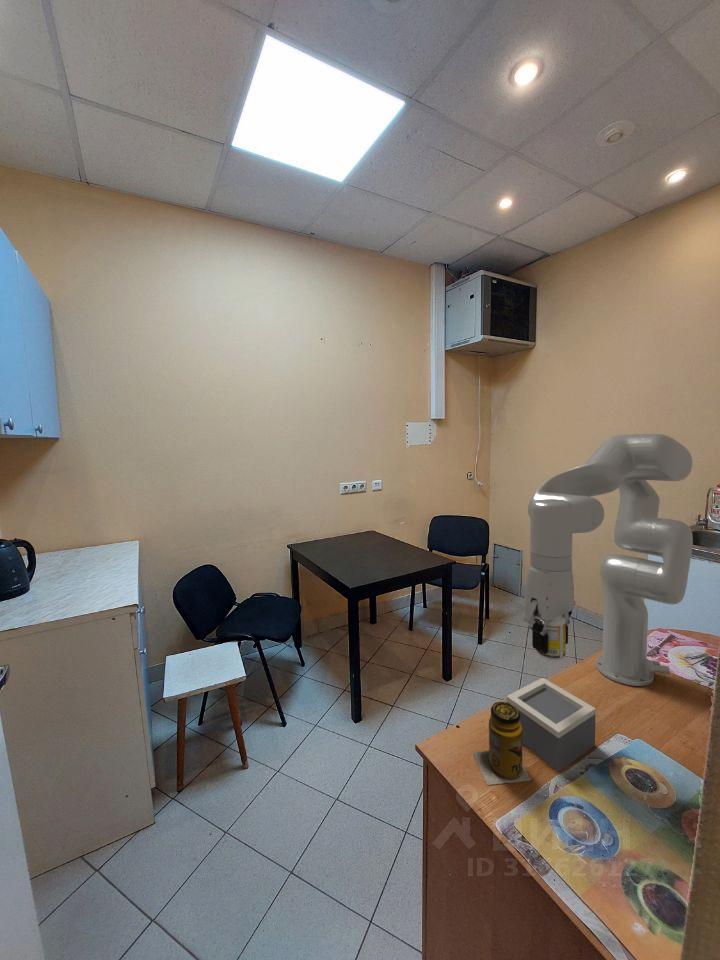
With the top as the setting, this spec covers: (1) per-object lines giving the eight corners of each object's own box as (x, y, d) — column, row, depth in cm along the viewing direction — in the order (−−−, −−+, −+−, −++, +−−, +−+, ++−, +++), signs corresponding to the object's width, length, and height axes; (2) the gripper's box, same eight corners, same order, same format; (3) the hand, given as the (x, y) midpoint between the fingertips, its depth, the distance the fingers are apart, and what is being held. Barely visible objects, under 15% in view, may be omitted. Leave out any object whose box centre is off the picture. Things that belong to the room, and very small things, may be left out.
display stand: (542, 710, 88) (542, 677, 88) (594, 745, 78) (595, 708, 77) (506, 731, 83) (506, 696, 82) (558, 772, 72) (558, 732, 71)
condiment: (531, 780, 71) (531, 721, 69) (487, 785, 70) (486, 726, 69) (512, 749, 78) (512, 695, 77) (472, 753, 77) (471, 699, 76)
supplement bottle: (551, 644, 82) (552, 599, 81) (572, 658, 76) (572, 610, 75) (529, 649, 80) (529, 603, 79) (548, 664, 75) (548, 614, 74)
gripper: (559, 549, 84) (559, 626, 85) (505, 564, 75) (506, 650, 77) (594, 557, 77) (593, 641, 79) (539, 575, 69) (539, 668, 71)
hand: (550, 644), depth 78 cm, fingers closed on supplement bottle, 5 cm apart
